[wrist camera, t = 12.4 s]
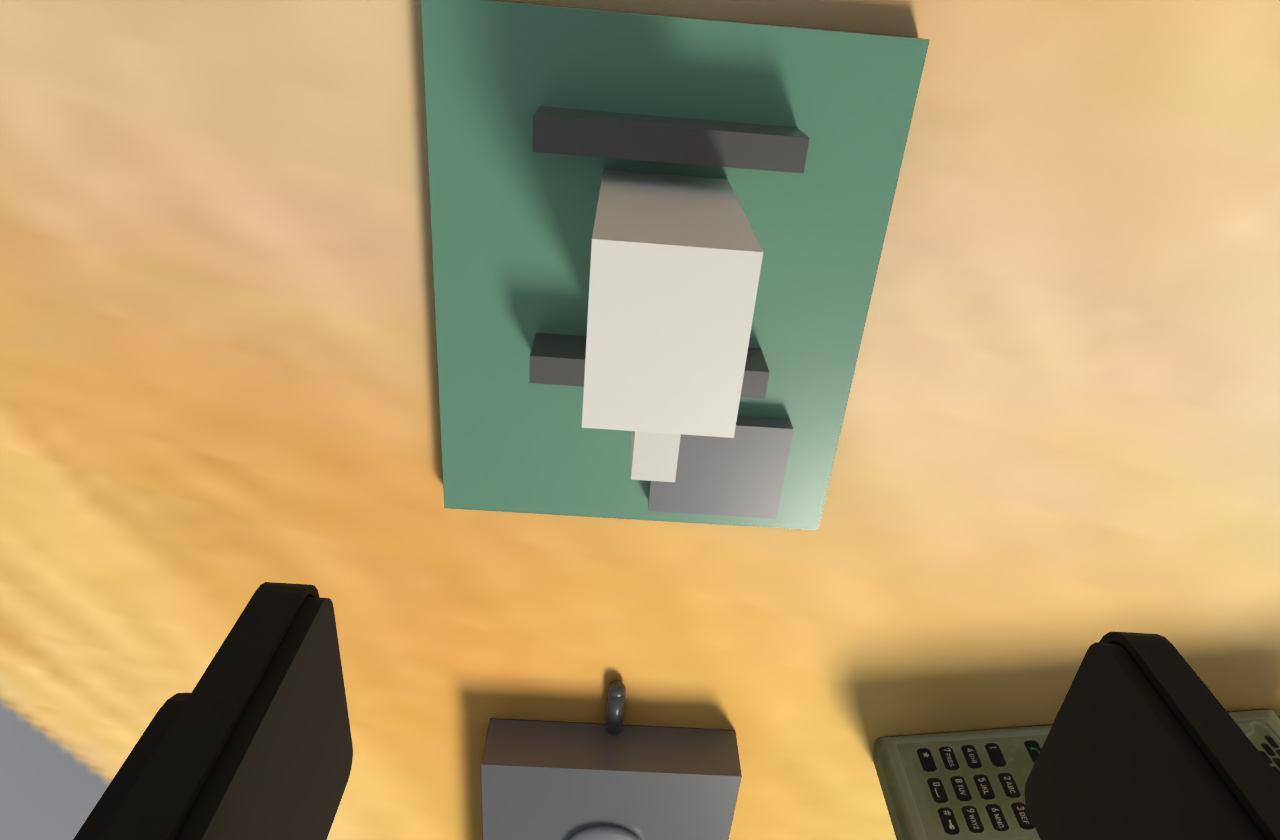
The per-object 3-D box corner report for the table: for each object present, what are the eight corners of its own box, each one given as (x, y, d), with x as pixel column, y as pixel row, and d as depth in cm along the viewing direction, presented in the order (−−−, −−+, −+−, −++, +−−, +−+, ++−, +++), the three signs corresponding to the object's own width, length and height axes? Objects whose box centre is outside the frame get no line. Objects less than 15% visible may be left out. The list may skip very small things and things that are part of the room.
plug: (727, 179, 26) (763, 252, 19) (703, 363, 29) (726, 485, 22) (603, 169, 25) (591, 238, 18) (592, 355, 29) (579, 476, 22)
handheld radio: (873, 725, 40) (1395, 687, 39) (870, 767, 41) (1370, 731, 40) (915, 858, 34) (1529, 817, 33) (909, 900, 36) (1493, 863, 35)
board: (918, 38, 25) (953, 44, 22) (813, 516, 33) (828, 561, 31) (428, -6, 24) (403, -5, 21) (449, 493, 33) (433, 538, 30)
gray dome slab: (744, 683, 38) (752, 736, 35) (706, 877, 45) (711, 933, 42) (489, 670, 37) (478, 722, 35) (492, 869, 44) (483, 924, 42)
